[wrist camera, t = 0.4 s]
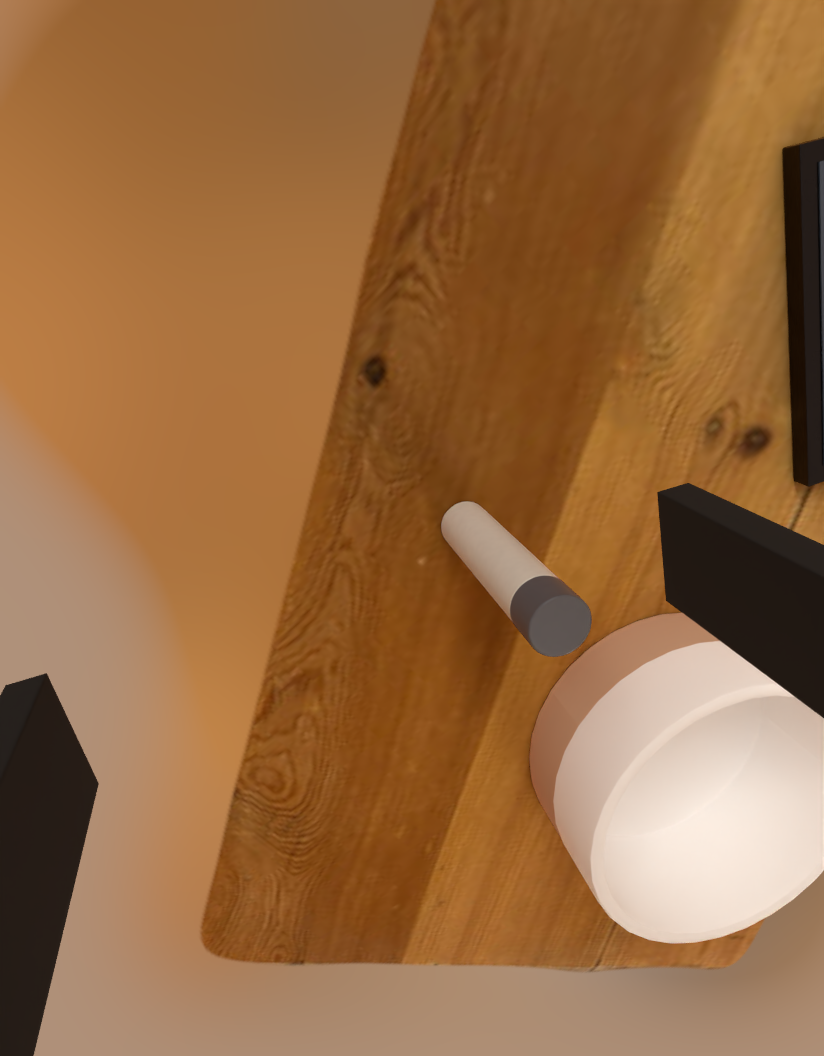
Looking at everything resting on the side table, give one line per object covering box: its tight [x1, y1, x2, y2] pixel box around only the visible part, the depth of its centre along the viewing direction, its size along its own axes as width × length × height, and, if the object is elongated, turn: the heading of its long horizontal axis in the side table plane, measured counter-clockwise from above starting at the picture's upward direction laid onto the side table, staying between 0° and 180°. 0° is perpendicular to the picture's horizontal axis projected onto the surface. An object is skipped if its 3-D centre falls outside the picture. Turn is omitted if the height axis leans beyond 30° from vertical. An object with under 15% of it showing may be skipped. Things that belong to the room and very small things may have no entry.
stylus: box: [441, 501, 592, 657], centre depth 33 cm, size 3×3×12 cm
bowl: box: [529, 613, 824, 943], centre depth 43 cm, size 17×17×8 cm
